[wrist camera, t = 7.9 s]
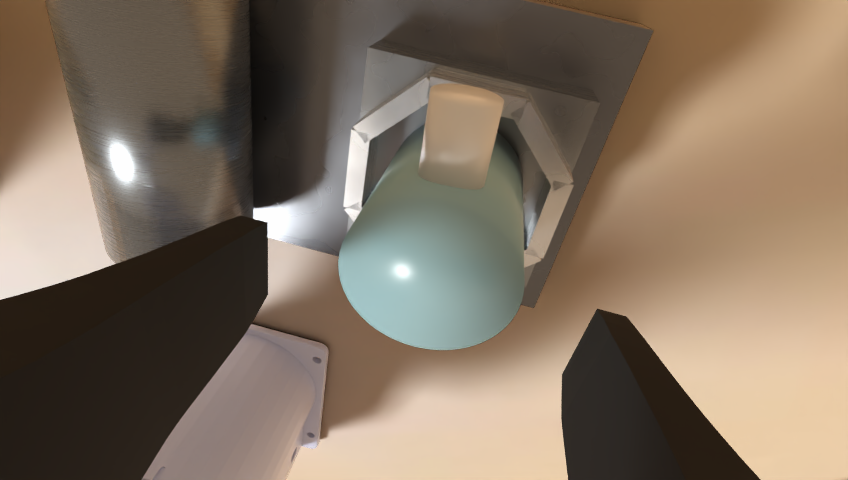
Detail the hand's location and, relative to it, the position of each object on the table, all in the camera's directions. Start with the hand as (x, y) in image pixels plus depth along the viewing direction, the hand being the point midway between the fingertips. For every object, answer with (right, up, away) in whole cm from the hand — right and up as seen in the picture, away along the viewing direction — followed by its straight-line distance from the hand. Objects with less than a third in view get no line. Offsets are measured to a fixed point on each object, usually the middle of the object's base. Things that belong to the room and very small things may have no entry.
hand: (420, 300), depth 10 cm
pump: (+1, +3, +5) cm, 6 cm away
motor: (-3, +6, +8) cm, 10 cm away
